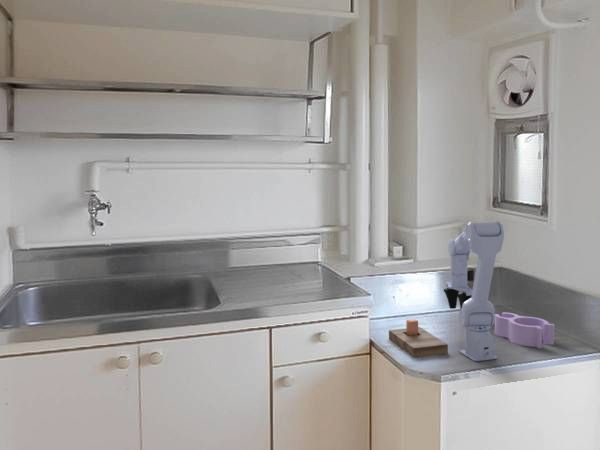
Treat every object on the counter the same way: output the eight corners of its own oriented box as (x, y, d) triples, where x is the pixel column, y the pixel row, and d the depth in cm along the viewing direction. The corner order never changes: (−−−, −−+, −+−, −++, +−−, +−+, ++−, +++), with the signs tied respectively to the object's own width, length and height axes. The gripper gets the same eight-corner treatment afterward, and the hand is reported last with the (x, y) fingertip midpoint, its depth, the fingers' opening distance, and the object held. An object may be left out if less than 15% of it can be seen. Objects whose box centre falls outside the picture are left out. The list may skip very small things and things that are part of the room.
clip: (486, 334, 196) (487, 316, 195) (509, 328, 202) (510, 310, 202) (535, 350, 179) (535, 329, 178) (559, 343, 185) (559, 323, 185)
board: (447, 353, 178) (447, 344, 177) (413, 357, 175) (413, 348, 174) (419, 335, 197) (419, 327, 196) (388, 338, 194) (388, 330, 194)
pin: (419, 341, 188) (420, 322, 187) (409, 342, 187) (409, 323, 186) (414, 338, 192) (414, 318, 191) (404, 339, 191) (404, 319, 190)
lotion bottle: (478, 317, 217) (479, 268, 215) (471, 320, 213) (472, 270, 211) (465, 315, 221) (465, 266, 219) (458, 318, 217) (458, 268, 215)
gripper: (438, 270, 197) (438, 306, 199) (459, 278, 183) (459, 317, 185) (455, 268, 199) (455, 305, 201) (478, 276, 185) (477, 315, 187)
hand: (458, 311), depth 193 cm, fingers open, 7 cm apart
